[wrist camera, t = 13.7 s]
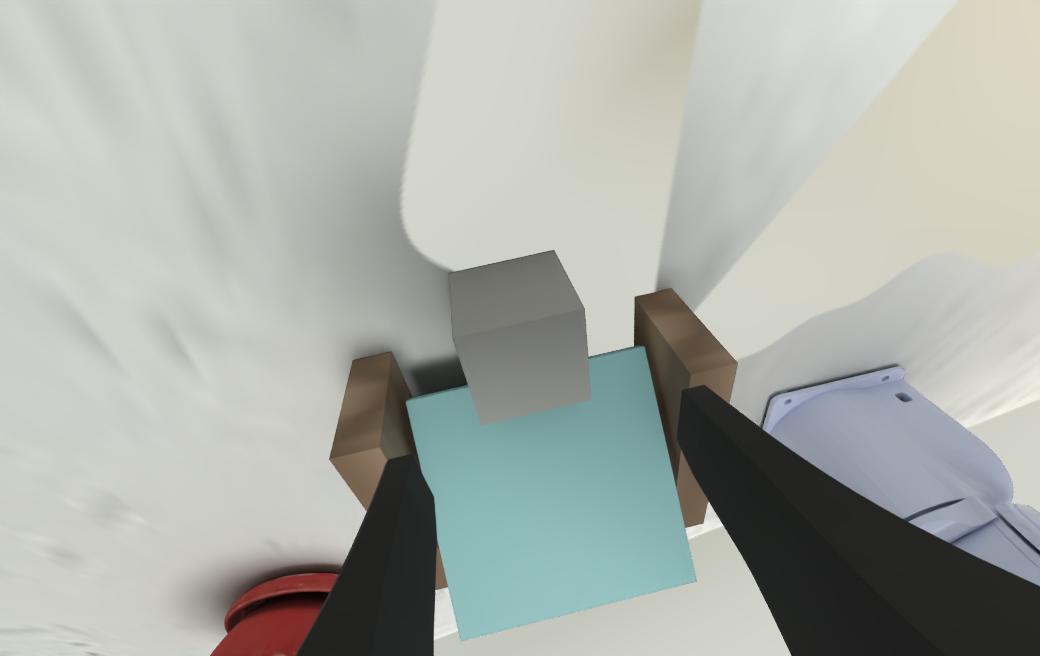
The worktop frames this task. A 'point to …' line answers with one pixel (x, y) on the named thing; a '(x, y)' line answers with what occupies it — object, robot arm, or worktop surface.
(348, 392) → the hatch stand
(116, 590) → the worktop surface
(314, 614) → the plant pot
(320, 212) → the worktop surface
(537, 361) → the granite block
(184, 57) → the worktop surface
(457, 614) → the hatch flap
